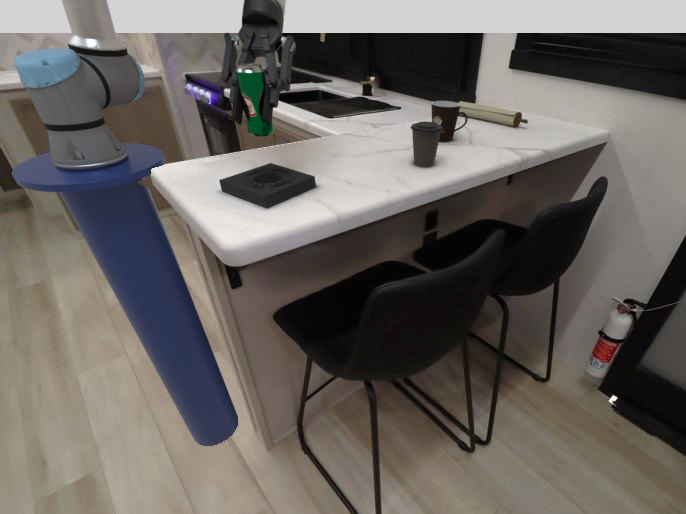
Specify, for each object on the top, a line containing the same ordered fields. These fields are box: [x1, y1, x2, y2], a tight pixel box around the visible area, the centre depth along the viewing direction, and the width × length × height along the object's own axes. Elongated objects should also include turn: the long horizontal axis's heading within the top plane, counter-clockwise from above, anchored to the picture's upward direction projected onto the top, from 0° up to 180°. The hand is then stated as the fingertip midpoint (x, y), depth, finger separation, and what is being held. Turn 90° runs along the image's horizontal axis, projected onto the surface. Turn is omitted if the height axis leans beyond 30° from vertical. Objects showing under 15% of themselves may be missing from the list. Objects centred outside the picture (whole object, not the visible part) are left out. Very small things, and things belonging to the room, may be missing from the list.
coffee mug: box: [430, 100, 468, 143], centre depth 114 cm, size 12×9×10 cm
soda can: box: [236, 62, 275, 138], centre depth 73 cm, size 5×5×12 cm
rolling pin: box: [457, 100, 529, 128], centre depth 138 cm, size 32×6×5 cm, turn 49°
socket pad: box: [218, 162, 317, 209], centre depth 82 cm, size 14×14×2 cm
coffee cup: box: [410, 121, 443, 168], centre depth 96 cm, size 8×8×10 cm
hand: (251, 120), depth 71 cm, fingers closed on soda can, 5 cm apart
